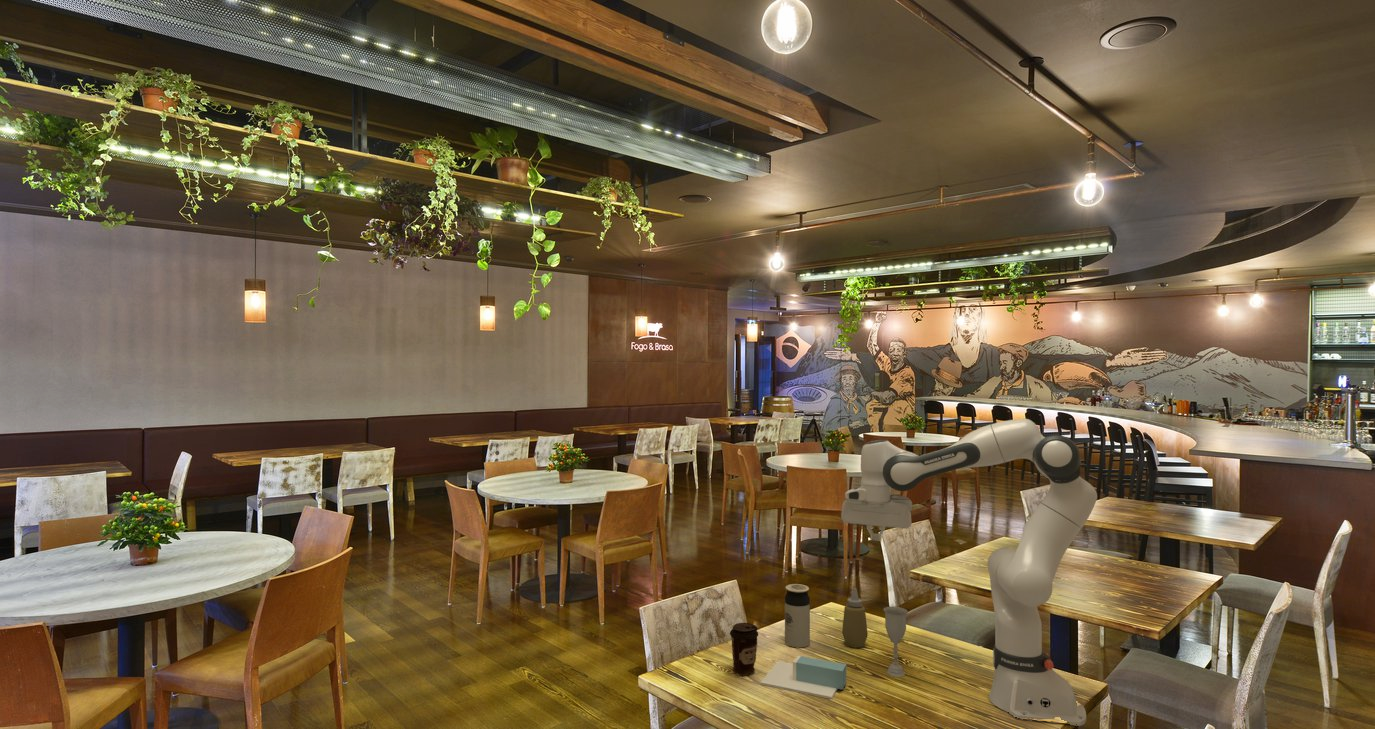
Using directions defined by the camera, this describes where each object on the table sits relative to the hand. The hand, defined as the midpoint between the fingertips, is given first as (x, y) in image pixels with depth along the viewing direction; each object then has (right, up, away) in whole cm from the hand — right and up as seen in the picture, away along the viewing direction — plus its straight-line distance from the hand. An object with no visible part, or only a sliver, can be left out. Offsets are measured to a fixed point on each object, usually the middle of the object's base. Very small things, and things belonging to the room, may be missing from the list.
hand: (875, 540), depth 203 cm
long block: (-13, -34, -15) cm, 39 cm away
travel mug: (-21, -38, +16) cm, 46 cm away
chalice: (+4, -37, -6) cm, 38 cm away
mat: (-23, -37, -11) cm, 45 cm away
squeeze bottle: (-3, -38, +15) cm, 41 cm away
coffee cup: (-40, -37, -5) cm, 55 cm away
